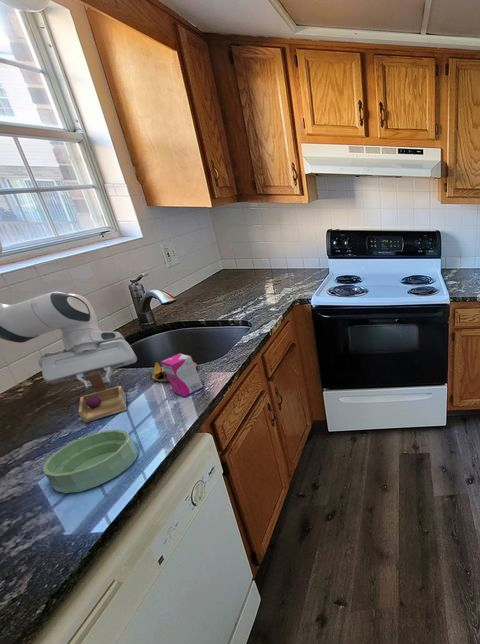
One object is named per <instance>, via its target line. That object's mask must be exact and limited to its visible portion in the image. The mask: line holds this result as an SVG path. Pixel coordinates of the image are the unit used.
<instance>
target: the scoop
mask: <svg viewBox="0 0 480 644" xmlns="http://www.w3.org/2000/svg"><path fill="white" fill-rule="evenodd" d="M102 377H103V376H102V373H101V372H99V371H95V372H91V373H88V375H87V379H88V381H90V382H91V384H92V386H93V388H92V389H93V390H94V392H93V393H89V394H85V395H82V396H80V397H79V405H78V412H77V413H78V415H79V416H80V418H81V420H82V423H84V424H86V423H90V422H93V421H96V420H99V419H102V418H105V417H109V416H112V415H115V414H118V413H120V412H124V411H127V396H126V392H125V391H124V388H123V387H122V385H117V386H114V387H109V388H108V386H107V384H104V383H103V380H102ZM91 397H98V398H100V399H101V404H100V405H99V406H97V407H89V406H88V405H87V403H86V402H87V400H88V399H89V398H91Z"/></svg>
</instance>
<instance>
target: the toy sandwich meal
mask: <svg viewBox="0 0 480 644" xmlns="http://www.w3.org/2000/svg"><path fill="white" fill-rule="evenodd" d="M193 363H194V366H195V368H196V369H197V367H198V365H197V363H196V362H194V361H193ZM153 370H154V371H153V372H154V373H152V375H151V379H152V380H154V381H158V382H160V383H168V382H169V380H168V377H167V375H166V373H165V371H164V368H163V366H161V365H160V364H159V362H155V364H154V369H153ZM169 383H170V382H169Z"/></svg>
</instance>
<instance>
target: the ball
mask: <svg viewBox="0 0 480 644" xmlns="http://www.w3.org/2000/svg"><path fill="white" fill-rule="evenodd" d="M86 403H87V405H88V406H89V407H97V406H99V405H100V404H101V399H100V398H98V397H91V398H89V399H88V400H87V402H86Z"/></svg>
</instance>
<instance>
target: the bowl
mask: <svg viewBox="0 0 480 644" xmlns="http://www.w3.org/2000/svg"><path fill="white" fill-rule="evenodd" d="M138 453H139V450H138V448H137V447H136V444H135V442H134V441H133V438H132V437H131V435H130V434H129V432H128V431H127V430H122V429H109V430H102V431H99V432H95V433H92V434H88V435H86V436H83V437H81V438H79V439H76V440H74V441H72V442H70V443H68V444H66V445H65V446H62V447H61V448H59V449H58V450H57V451H55V452H54V453H52V455H50V456H49V457H48V458H47V459H46V460H45V462H44V464H43V466H42V472H43V473H44V475H45V477H46V478H47V480H48V482H49V483H50V484H51V486H52V488H53V489H54V490H55V491H56V492H60V493H62V494H63V493H64V494H69V493H79V492H83V491H86V490H89V489H93V488H95V487H98V486H100V485H102V484H105V483H106V482H109V481H110V480H112V479H115V478H116V477H117V476H119V475H120V474H122V473H123V472H125V471H126V470H127V469H129V468H130V467H131V465H132V464H133V463H135V461H136V460H137V457H138Z"/></svg>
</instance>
